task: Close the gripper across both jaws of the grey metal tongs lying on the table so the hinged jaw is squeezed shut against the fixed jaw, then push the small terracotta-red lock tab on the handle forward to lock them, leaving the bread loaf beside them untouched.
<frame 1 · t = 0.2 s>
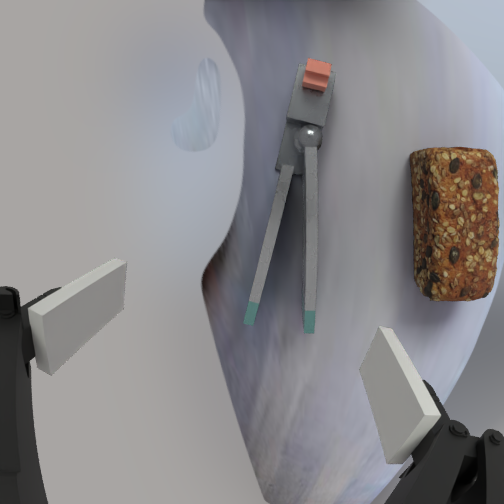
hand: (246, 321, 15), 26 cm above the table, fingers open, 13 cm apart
jaw: (309, 230, 35), point 4 cm above the table, hinge at 15.0°
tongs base: (305, 142, 36), on the table
lock tab: (316, 74, 29), point 6 cm above the table, slide at 0.0 cm
bread: (439, 216, 37), on the table
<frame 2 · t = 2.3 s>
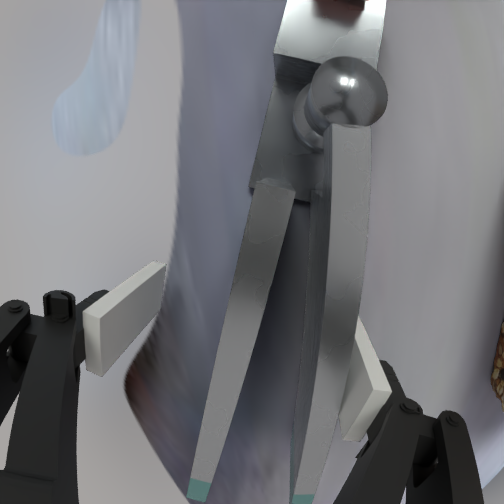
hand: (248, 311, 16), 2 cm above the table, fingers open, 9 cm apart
jaw: (321, 345, 14), point 4 cm above the table, hinge at 13.0°, touching gripper
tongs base: (321, 125, 15), on the table
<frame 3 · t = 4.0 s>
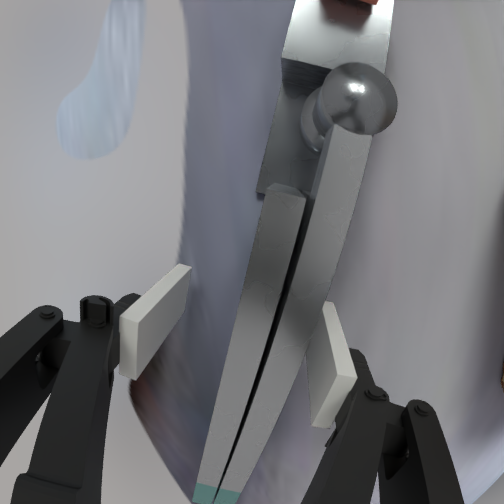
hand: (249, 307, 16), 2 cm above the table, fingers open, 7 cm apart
jaw: (277, 344, 14), point 4 cm above the table, hinge at -0.5°
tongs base: (328, 130, 15), on the table
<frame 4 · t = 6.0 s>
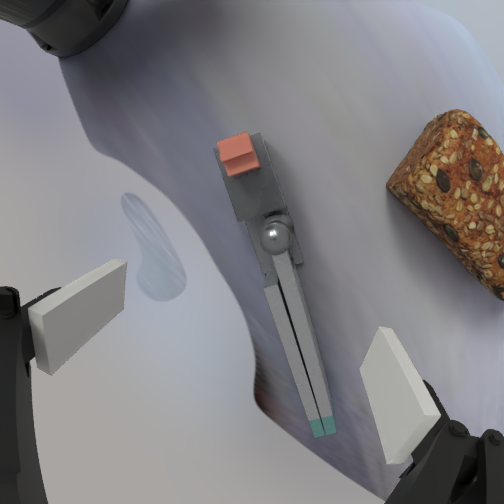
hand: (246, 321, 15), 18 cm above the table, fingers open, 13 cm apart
jaw: (306, 334, 29), point 4 cm above the table, hinge at -0.5°
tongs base: (278, 227, 31), on the table
lock tab: (238, 154, 24), point 6 cm above the table, slide at 0.0 cm
bread: (457, 206, 29), on the table
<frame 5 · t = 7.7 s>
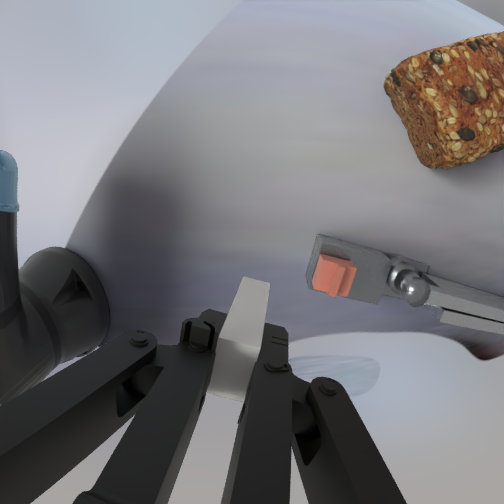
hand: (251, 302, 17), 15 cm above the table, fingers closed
jaw: (478, 301, 26), point 4 cm above the table, hinge at -0.5°
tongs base: (392, 268, 30), on the table
lock tab: (334, 276, 25), point 6 cm above the table, slide at 0.0 cm
bread: (457, 101, 25), on the table
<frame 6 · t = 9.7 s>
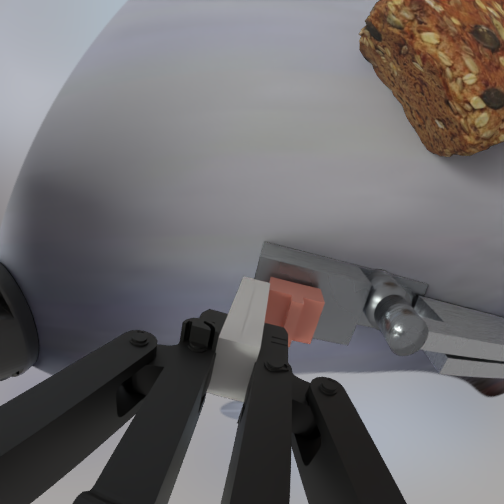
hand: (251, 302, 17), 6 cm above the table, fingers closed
jaw: (494, 334, 17), point 4 cm above the table, hinge at -0.5°
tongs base: (375, 289, 22), on the table
lock tab: (290, 313, 16), point 6 cm above the table, slide at 0.9 cm, touching gripper
bread: (462, 60, 16), on the table
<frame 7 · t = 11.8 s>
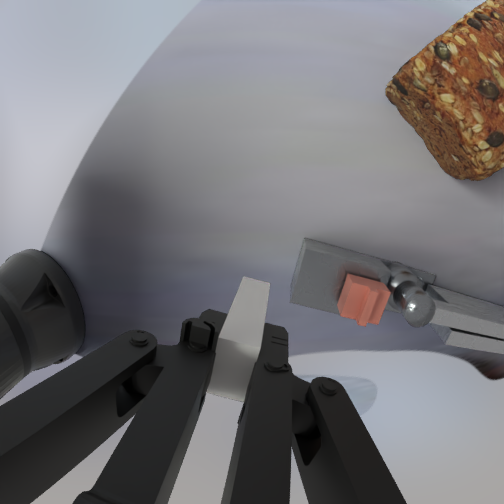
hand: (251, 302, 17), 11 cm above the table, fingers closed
jaw: (491, 317, 21), point 4 cm above the table, hinge at -0.5°
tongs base: (392, 278, 26), on the table
lock tab: (364, 301, 21), point 6 cm above the table, slide at 3.5 cm
bread: (466, 87, 21), on the table
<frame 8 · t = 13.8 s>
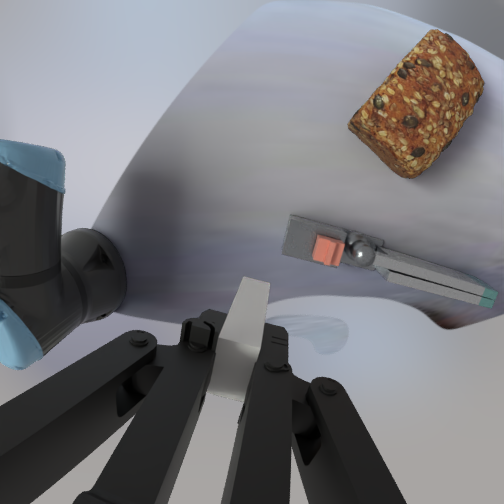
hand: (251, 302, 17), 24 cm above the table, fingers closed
jaw: (427, 270, 35), point 4 cm above the table, hinge at -0.5°
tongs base: (352, 242, 40), on the table
lock tab: (328, 250, 34), point 6 cm above the table, slide at 3.5 cm
bread: (407, 108, 34), on the table
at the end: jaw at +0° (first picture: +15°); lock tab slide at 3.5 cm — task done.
